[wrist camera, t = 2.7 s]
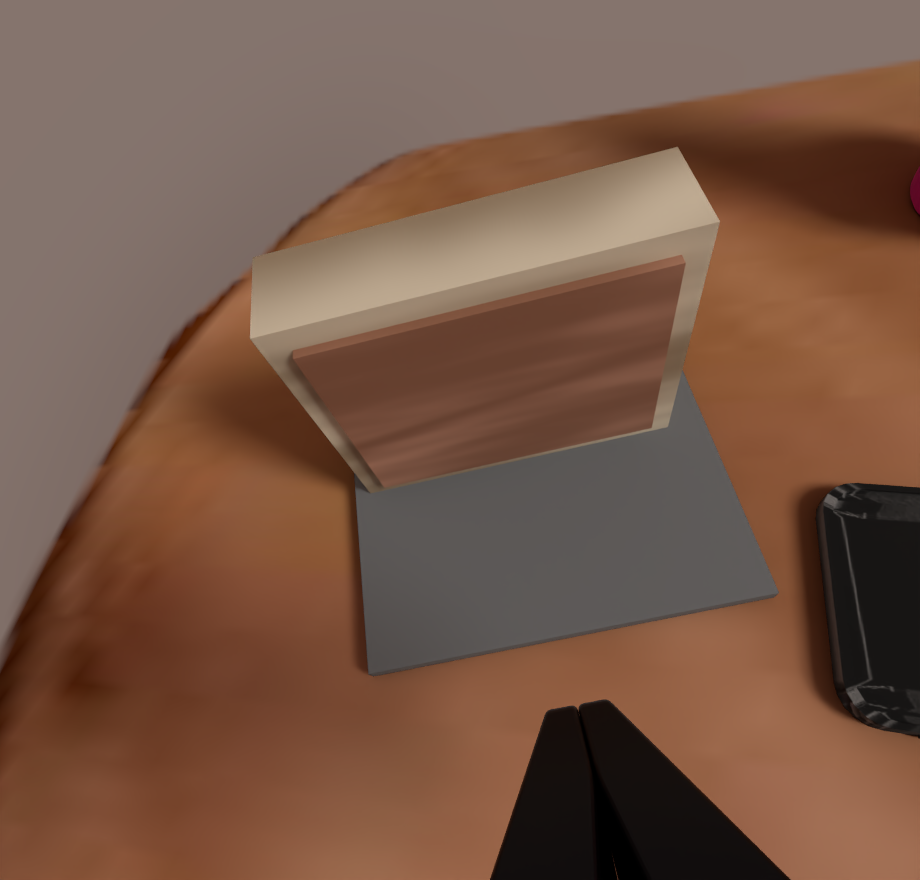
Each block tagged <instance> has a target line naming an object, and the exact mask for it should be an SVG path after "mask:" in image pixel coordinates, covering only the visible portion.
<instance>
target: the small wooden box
mask: <svg viewBox="0 0 920 880" xmlns="http://www.w3.org/2000/svg"><path fill="white" fill-rule="evenodd" d="M719 223H720V221H719V219H718V217H717V216H716V214H715V212H714V210H713V209H712V207H711V205H710V203H709V201H708V200H707V198H706V196H705V194H704V193H703V191H702V189H701V187H700V185H699V184H698V182H697V180H696V178H695V177H694V175H693V173H692V171H691V170H690V168H689V166H688V164H687V162H686V161H685V159H684V157H683V155H682V154H681V152H680V150H679V148H678V147H675V148H671V149H668V150H664V151H660V152H656V153H652V154H648V155H644V156H641V157H637V158H633V159H629V160H625V161H621V162H618V163H614V164H610V165H606V166H602V167H598V168H595V169H591V170H587V171H583V172H579V173H575V174H572V175H568V176H564V177H560V178H556V179H552V180H549V181H545V182H541V183H537V184H533V185H529V186H526V187H522V188H518V189H514V190H510V191H506V192H503V193H499V194H495V195H491V196H487V197H483V198H480V199H476V200H472V201H468V202H464V203H460V204H457V205H453V206H449V207H445V208H441V209H437V210H434V211H430V212H426V213H422V214H418V215H414V216H410V217H407V218H403V219H399V220H395V221H391V222H387V223H384V224H380V225H376V226H372V227H368V228H364V229H361V230H357V231H353V232H349V233H345V234H341V235H338V236H334V237H330V238H326V239H322V240H318V241H315V242H311V243H307V244H303V245H299V246H295V247H292V248H288V249H284V250H280V251H276V252H272V253H269V254H265V255H261V256H257V257H253V267H252V296H251V324H250V339H251V341H252V342H253V343H254V344H255V346H256V347H257V348H258V350H259V351H260V352H261V353H262V355H263V356H264V357H265V359H266V360H267V361H268V362H269V364H270V365H271V366H272V368H273V369H274V370H275V371H276V373H277V374H278V375H279V377H280V378H281V379H282V380H283V382H284V383H285V384H286V386H287V387H288V388H289V389H290V391H291V392H292V393H293V395H294V396H295V397H296V398H297V400H298V401H299V402H300V404H301V405H302V406H303V407H304V409H305V410H306V411H307V413H308V414H309V415H310V416H311V418H312V419H313V420H314V422H315V423H316V424H317V425H318V427H319V428H320V429H321V431H322V432H323V433H324V434H325V436H326V437H327V438H328V440H329V441H330V442H331V443H332V445H333V446H334V447H335V449H336V450H337V451H338V452H339V454H340V455H341V456H342V458H343V459H344V460H345V461H346V463H347V464H348V465H349V466H350V468H351V469H352V470H353V472H354V473H355V474H356V475H357V477H358V478H359V479H360V481H361V482H362V483H363V484H364V486H365V487H366V488H367V490H368V491H369V492H370V493H375V492H379V491H384V490H388V489H393V488H397V487H402V486H406V485H411V484H415V483H420V482H424V481H429V480H433V479H437V478H442V477H446V476H451V475H455V474H460V473H464V472H469V471H473V470H478V469H482V468H487V467H491V466H496V465H500V464H505V463H509V462H514V461H518V460H523V459H527V458H532V457H536V456H540V455H545V454H549V453H554V452H558V451H563V450H567V449H572V448H576V447H581V446H585V445H590V444H594V443H599V442H603V441H608V440H612V439H617V438H621V437H626V436H630V435H635V434H639V433H644V432H648V431H652V430H657V429H661V428H666V427H668V424H669V420H670V416H671V412H672V408H673V405H674V401H675V397H676V393H677V389H678V385H679V381H680V377H681V373H682V369H683V365H684V361H685V357H686V353H687V349H688V345H689V341H690V337H691V334H692V330H693V326H694V322H695V318H696V314H697V310H698V306H699V302H700V298H701V294H702V290H703V286H704V282H705V278H706V274H707V270H708V266H709V263H710V259H711V255H712V251H713V247H714V243H715V239H716V235H717V231H718V227H719Z"/></svg>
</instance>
